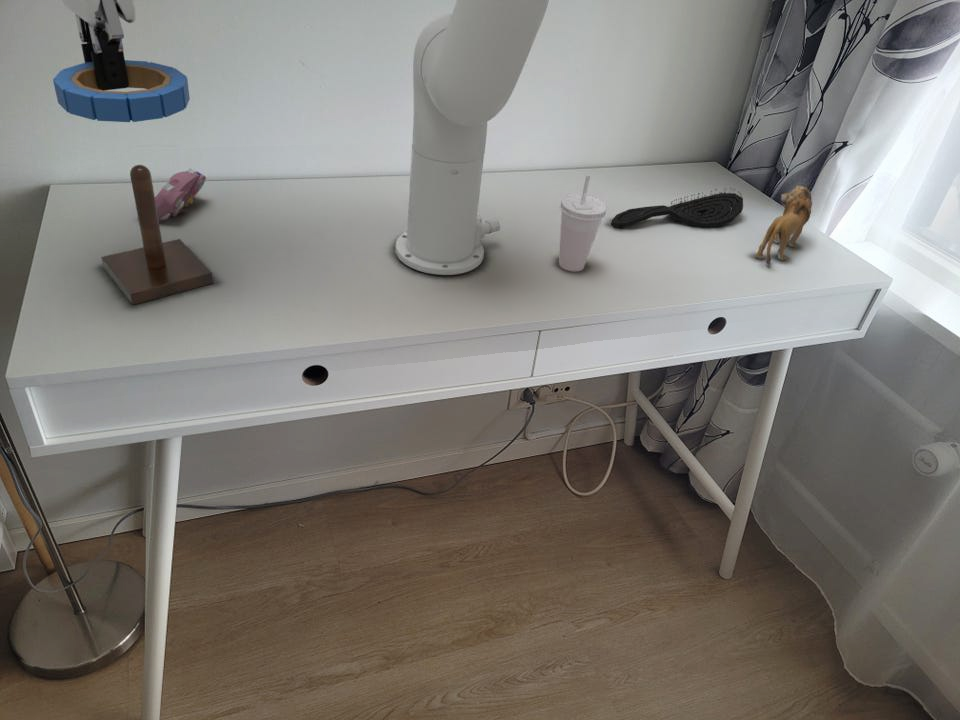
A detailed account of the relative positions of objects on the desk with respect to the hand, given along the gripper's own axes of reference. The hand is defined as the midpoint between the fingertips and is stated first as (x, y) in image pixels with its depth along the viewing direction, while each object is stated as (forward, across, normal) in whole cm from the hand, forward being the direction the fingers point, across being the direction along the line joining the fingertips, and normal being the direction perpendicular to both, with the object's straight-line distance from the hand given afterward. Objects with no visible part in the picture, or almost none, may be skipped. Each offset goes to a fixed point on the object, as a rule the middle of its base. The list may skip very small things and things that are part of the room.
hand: (108, 82), depth 84 cm
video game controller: (+23, +11, -9) cm, 27 cm away
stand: (+22, -5, 0) cm, 23 cm away
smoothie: (+22, -30, -50) cm, 63 cm away
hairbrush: (+22, -28, -77) cm, 85 cm away
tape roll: (0, -5, 0) cm, 5 cm away
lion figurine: (+22, -43, -84) cm, 97 cm away
